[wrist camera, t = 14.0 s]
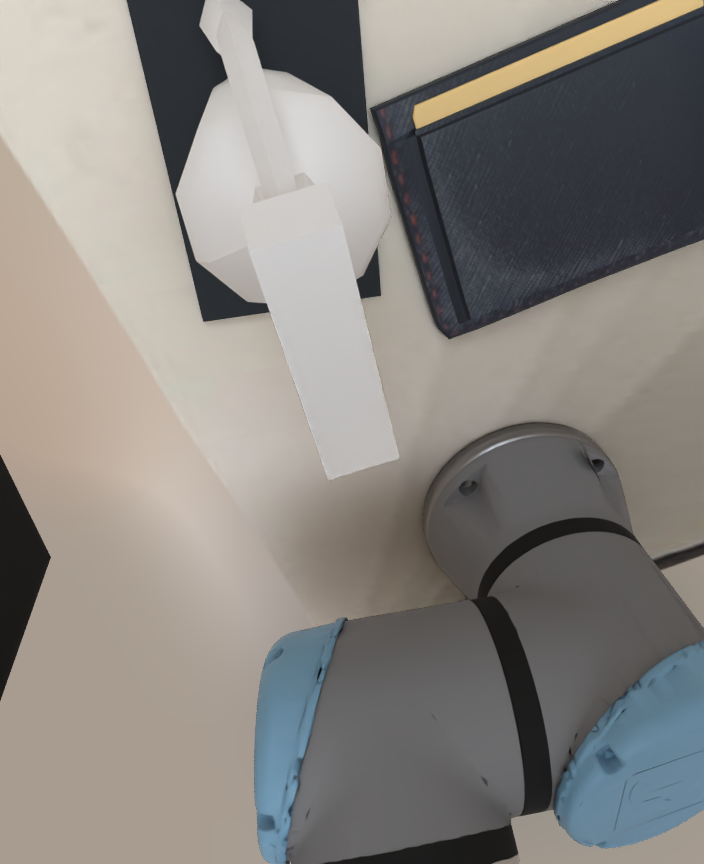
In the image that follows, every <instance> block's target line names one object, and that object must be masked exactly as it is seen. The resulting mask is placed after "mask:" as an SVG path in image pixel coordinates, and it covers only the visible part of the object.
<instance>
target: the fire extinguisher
mask: <svg viewBox="0 0 704 864" xmlns="http://www.w3.org/2000/svg"><path fill="white" fill-rule="evenodd" d="M199 26H200V28H201V29H202V31H203V32H204V34H205V35H206V37H207V38H208V40H209V41H210V43H211V44H212V46H213V47H214V48H215V50H216V51H217V53H219V54H220V55H221V57H222V60H223V63H224V66H225V70H226V73H227V76H228V79H226V80H225V81H223V82H222V83H220V84H219V85H217V86H216V87H214V88H213V90H212V92H211V95H210V97H209V100H208V103H207V105H206V108H205V110H204V113H203V116H202V118H201V121H200V124H199V126H198V129H197V132H196V135H195V138H194V141H193V144H192V147H191V150H190V153H189V156H188V159H187V162H186V164H185V167H184V170H183V173H182V176H181V179H180V182H179V185H178V188H177V191H176V198H177V201H178V204H179V207H180V211H181V214H182V217H183V220H184V224H185V227H186V230H187V233H188V237H189V240H190V243H191V246H192V250H193V253H194V256H195V259H196V261H197V262H198V263H199V264H201V265H202V266H203V267H204V268H206V269H207V270H208V271H209V272H211V273H212V274H213V275H214V276H216V277H217V278H218V279H219V280H221V281H222V282H223V283H224V284H226V285H227V286H228V287H229V288H231V289H232V290H233V291H234V292H236V293H237V294H238V295H239V296H241V297H242V298H243V299H244V300H246V301H247V302H256V303H267V306H268V308H269V311H270V314H271V317H272V320H273V323H274V326H275V329H276V332H277V334H278V337H279V340H280V343H281V346H282V349H283V352H284V355H285V358H286V360H287V363H288V366H289V369H290V372H291V375H292V378H293V381H294V384H295V386H296V389H297V392H298V395H299V398H300V401H301V404H302V407H303V410H304V412H305V415H306V418H307V421H308V424H309V427H310V430H311V433H312V436H313V438H314V441H315V444H316V447H317V450H318V453H319V456H320V459H321V462H322V464H323V467H324V470H325V473H326V476H327V479H328V480H331V479H334V478H338V477H341V476H344V475H347V474H351V473H354V472H357V471H361V470H364V469H367V468H370V467H374V466H377V465H380V464H383V463H387V462H390V461H393V460H396V459H400V457H399V453H398V449H397V445H396V441H395V437H394V432H393V428H392V424H391V420H390V416H389V412H388V408H387V404H386V400H385V396H384V392H383V388H382V384H381V380H380V376H379V371H378V367H377V363H376V359H375V355H374V351H373V347H372V343H371V339H370V335H369V331H368V327H367V323H366V319H365V315H364V311H363V306H362V302H361V298H360V294H359V290H358V286H357V282H356V279H358V278H360V277H361V276H363V275H364V273H365V271H366V268H367V266H368V264H369V262H370V260H371V258H372V256H373V254H374V252H375V250H376V248H377V246H378V243H379V241H380V239H381V237H382V235H383V233H384V231H385V229H386V227H387V225H388V223H389V221H390V218H391V212H390V205H389V198H388V191H387V184H386V178H385V171H384V164H383V157H382V150H381V148H380V147H379V146H378V145H377V144H376V143H375V142H374V141H373V140H372V138H371V137H370V136H369V135H368V134H367V133H366V132H365V131H364V130H363V129H362V128H361V127H360V126H359V125H358V124H357V123H356V122H355V121H354V120H353V119H352V118H351V116H350V115H349V114H348V113H347V112H346V111H345V110H344V109H343V108H342V107H341V106H340V105H339V104H338V103H337V102H336V101H335V100H334V99H333V98H332V97H331V96H329V95H328V94H326V93H324V92H322V91H320V90H318V89H317V88H315V87H313V86H311V85H309V84H307V83H306V82H304V81H302V80H300V79H298V78H296V77H295V76H293V75H291V74H289V73H287V72H282V71H275V70H268V69H262V67H261V63H260V60H259V57H258V54H257V50H256V47H255V44H254V41H253V36H252V9H251V8H249V7H248V6H247V5H245V4H244V3H243V2H242V1H240V0H205V4H204V8H203V12H202V16H201V20H200V25H199Z"/></svg>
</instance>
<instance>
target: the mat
mask: <svg viewBox="0 0 704 864" xmlns="http://www.w3.org/2000/svg"><path fill="white" fill-rule="evenodd" d="M240 1H242V2H243V3H244V4H245V5H247V6H248V7H249V8H251V9H252V36H253V41H254V44H255V47H256V50H257V54H258V57H259V60H260V63H261V67H262V69H268V70H275V71H282V72H287V73H289V74H291V75H293V76H295V77H296V78H298V79H300V80H302V81H304V82H306V83H307V84H309V85H311V86H313V87H315V88H317V89H318V90H320V91H322V92H324V93H326V94H328V95H329V96H331V97H332V98H333V99H334V100H335V101H336V102H337V103H338V104H339V105H340V106H341V107H342V108H343V109H344V110H345V111H346V112H347V113H348V114H349V115H350V116H351V118H352V119H353V120H354V121H355V122H356V123H357V124H358V125H359V126H360V127H361V128H362V129H363V130H364V131H365V132H366V133H367V134H368V125H367V113H366V100H365V87H364V74H363V62H362V49H361V36H360V24H359V11H358V0H240ZM127 3H128V7H129V12H130V16H131V20H132V24H133V28H134V33H135V37H136V41H137V45H138V49H139V54H140V58H141V62H142V66H143V70H144V75H145V79H146V83H147V87H148V91H149V96H150V100H151V104H152V108H153V112H154V117H155V121H156V125H157V129H158V133H159V138H160V142H161V146H162V150H163V154H164V159H165V163H166V167H167V171H168V175H169V180H170V184H171V188H172V192H173V196H174V201H175V205H176V209H177V213H178V217H179V222H180V226H181V230H182V234H183V238H184V243H185V247H186V251H187V255H188V259H189V264H190V268H191V272H192V276H193V280H194V285H195V289H196V293H197V297H198V301H199V306H200V310H201V314H202V318H203V321H204V322H205V321H212V320H219V319H225V318H232V317H239V316H246V315H253V314H259V313H266V312H270V311H269V308H268V306H267V303H256V302H247V301H246V300H244V299H243V298H242V297H241V296H239V295H238V294H237V293H236V292H234V291H233V290H232V289H231V288H229V287H228V286H227V285H226V284H224V283H223V282H222V281H221V280H219V279H218V278H217V277H216V276H214V275H213V274H212V273H211V272H209V271H208V270H207V269H206V268H204V267H203V266H202V265H201V264H199V263H198V262H197V261H196V259H195V256H194V253H193V250H192V246H191V243H190V240H189V237H188V233H187V230H186V227H185V224H184V220H183V217H182V214H181V211H180V207H179V204H178V201H177V198H176V191H177V188H178V185H179V182H180V179H181V176H182V173H183V170H184V167H185V164H186V162H187V159H188V156H189V153H190V150H191V147H192V144H193V141H194V138H195V135H196V132H197V129H198V126H199V124H200V121H201V118H202V116H203V113H204V110H205V108H206V105H207V103H208V100H209V97H210V95H211V92H212V90H213V88H214V87H216V86H217V85H219V84H220V83H222V82H223V81H225V80H226V79H228V76H227V73H226V70H225V66H224V63H223V60H222V57H221V55H220V54H219V53H217V51H216V50H215V48H214V47H213V46H212V44H211V43H210V41H209V40H208V38H207V37H206V35H205V34H204V32H203V31H202V29H201V28H200V26H199V25H200V20H201V16H202V12H203V8H204V4H205V0H127ZM356 282H357V286H358V290H359V294H360V298H361V299H362V298H368V297H375V296H381V290H380V278H379V265H378V252H377V248H376V250H375V252H374V254H373V256H372V258H371V260H370V262H369V264H368V266H367V268H366V271H365V273H364V275H363V276H361V277H360V278H358V279H356Z"/></svg>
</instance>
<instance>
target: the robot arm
mask: <svg viewBox="0 0 704 864" xmlns="http://www.w3.org/2000/svg"><path fill="white" fill-rule="evenodd" d="M423 529H424V533H425V537H426V540H427V543H428V546H429V549H430V551H431V554H432V556H433V558H434V560H435V561H436V563H437V564H438V565H439V567H440V568H441V569H442V571H443V572H444V573H445V574H446V575H447V576H448V577H449V578H450V579H451V581H452V582H453V583H454V584H455V585H456V586H457V587H458V588H459V589H460V590H461V591H462V592H463V593H464V594H465V595H466V596H467V598H468V599H469V600H464V601H459V602H453V603H447V604H441V605H435V606H429V607H424V608H418V609H412V610H406V611H400V612H394V613H388V614H382V615H376V616H371V617H365V618H359V619H353V620H348V619H347V618H339V619H337V620H336V622H335V623H332V624H328V625H323V626H319V627H314V628H310V629H305V630H301V631H296V632H292V633H289V634H287V635H285V636H283V637H282V638H280V639H279V640H278V641H277V642H276V643H275V644H274V645H273V647H272V648H271V650H270V651H269V653H268V655H267V658H266V660H265V663H264V667H263V671H262V676H261V681H260V687H259V694H258V702H257V714H256V727H255V750H254V792H255V806H256V810H257V824H258V825H257V836H258V843H259V848H260V851H261V854H262V856H263V858H264V860H265V861H267V862H268V863H272V864H289V863H290V861H291V864H519V862H520V859H519V855H518V850H517V846H516V842H515V838H514V835H513V830H512V826H511V818H513V817H517V816H523V815H528V814H533V813H538V812H543V811H548V810H554V814H555V816H556V819H557V821H558V822H559V825H560V826H561V827H562V828H563V829H565V830H566V832H567V833H568V834H569V836H570V837H571V838H572V839H573V840H574V841H576V842H578V843H579V844H582V845H585V846H589V847H591V846H593V845H596V846H599V847H600V848H616V847H621V846H625V845H631V844H634V843H638V842H640V841H644V840H647V839H649V838H652V837H654V836H657V835H659V834H662V833H664V832H666V831H668V830H670V829H672V828H674V827H676V826H678V825H680V824H681V823H683V822H685V821H687V820H688V819H690V818H691V817H693V816H695V815H696V814H698V813H699V812H701V811H702V810H703V809H704V628H703V627H702V626H701V624H700V623H699V621H698V620H697V619H696V618H695V616H694V615H693V614H692V613H691V611H690V610H689V608H688V607H687V606H686V604H685V603H684V602H683V600H682V599H681V598H680V596H679V595H678V594H677V592H676V591H675V590H674V588H673V587H672V586H671V584H670V583H669V582H668V580H667V579H666V578H665V576H664V575H663V574H662V572H661V571H660V570H659V568H658V567H657V566H656V564H655V563H654V562H653V560H652V559H651V558H650V556H649V555H648V554H647V552H646V551H645V550H644V549H643V547H642V546H641V544H640V543H639V542H638V540H637V539H636V538H635V536H634V535H633V531H632V527H631V523H630V519H629V514H628V510H627V506H626V502H625V497H624V493H623V489H622V485H621V481H620V479H619V476H618V473H617V471H616V469H615V467H614V465H613V464H612V462H611V461H610V459H609V458H608V457H607V456H606V454H605V453H604V452H603V451H602V449H601V448H600V447H599V446H598V445H597V444H596V443H595V442H594V441H593V440H592V439H591V438H589V437H588V436H586V435H585V434H583V433H581V432H579V431H577V430H575V429H572V428H569V427H566V426H562V425H557V424H548V423H531V424H523V425H518V426H513V427H509V428H505V429H502V430H499V431H496V432H494V433H491V434H489V435H487V436H485V437H483V438H481V439H479V440H477V441H475V442H474V443H472V444H471V445H469V446H468V447H466V448H465V449H463V450H462V451H461V452H460V453H458V454H457V455H456V456H455V457H454V458H453V459H452V460H450V461H449V462H448V464H447V465H446V466H445V467H444V468H443V469H442V470H441V472H440V473H439V474H438V476H437V477H436V479H435V480H434V482H433V484H432V486H431V488H430V490H429V492H428V494H427V497H426V500H425V504H424V508H423ZM50 558H51V557H50V555H49V553H48V551H47V549H46V547H45V545H44V543H43V541H42V539H41V537H40V534H39V532H38V530H37V528H36V526H35V524H34V522H33V520H32V518H31V516H30V514H29V512H28V510H27V508H26V506H25V504H24V502H23V500H22V498H21V496H20V494H19V492H18V490H17V488H16V486H15V484H14V482H13V480H12V478H11V476H10V474H9V471H8V469H7V467H6V465H5V463H4V461H3V459H2V457H1V455H0V700H1V697H2V694H3V691H4V689H5V686H6V683H7V680H8V677H9V675H10V672H11V669H12V666H13V663H14V660H15V657H16V655H17V652H18V649H19V646H20V643H21V640H22V637H23V635H24V632H25V629H26V626H27V623H28V620H29V618H30V615H31V612H32V609H33V606H34V603H35V600H36V598H37V595H38V592H39V589H40V586H41V583H42V580H43V578H44V575H45V572H46V569H47V567H48V564H49V561H50Z"/></svg>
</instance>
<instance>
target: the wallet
mask: <svg viewBox="0 0 704 864" xmlns="http://www.w3.org/2000/svg"><path fill="white" fill-rule="evenodd" d="M370 109H371V112H372V115H373V118H374V121H375V124H376V127H377V131H378V134H379V137H380V141H381V145H382V150H383V154H384V159H385V163H386V167H387V171H388V175H389V178H390V181H391V185H392V188H393V191H394V194H395V198H396V201H397V204H398V208H399V211H400V214H401V218H402V221H403V224H404V227H405V231H406V234H407V237H408V241H409V244H410V247H411V250H412V254H413V257H414V260H415V263H416V267H417V270H418V273H419V276H420V280H421V283H422V286H423V289H424V293H425V296H426V299H427V302H428V305H429V308H430V310H431V313H432V316H433V319H434V322H435V324H436V326H437V328H438V329H439V330H440V331H441V332H442V333H443V334H444V335H445V336H446V337H447V338H448V339H451V338H454V337H457V336H459V335H462V334H465V333H468V332H471V331H473V330H476V329H479V328H481V327H484V326H486V325H489V324H491V323H494V322H496V321H499V320H501V319H504V318H506V317H509V316H511V315H514V314H516V313H518V312H521V311H523V310H526V309H528V308H530V307H533V306H535V305H538V304H540V303H542V302H545V301H547V300H550V299H552V298H554V297H557V296H559V295H562V294H564V293H566V292H569V291H571V290H574V289H576V288H578V287H581V286H583V285H586V284H588V283H591V282H593V281H596V280H598V279H601V278H604V277H606V276H609V275H611V274H614V273H617V272H619V271H622V270H624V269H627V268H630V267H632V266H635V265H637V264H640V263H642V262H645V261H648V260H650V259H653V258H655V257H658V256H661V255H663V254H666V253H668V252H671V251H674V250H677V249H679V248H682V247H685V246H687V245H690V244H693V243H696V242H698V241H701V240H704V0H619V1H616V2H614V3H612V4H610V5H607V6H605V7H603V8H600V9H598V10H596V11H593V12H591V13H589V14H587V15H584V16H582V17H580V18H577V19H575V20H573V21H570V22H568V23H566V24H564V25H561V26H559V27H557V28H554V29H552V30H550V31H547V32H545V33H543V34H541V35H538V36H536V37H534V38H531V39H529V40H527V41H524V42H522V43H520V44H518V45H515V46H513V47H511V48H508V49H506V50H504V51H501V52H499V53H497V54H495V55H492V56H490V57H488V58H485V59H483V60H481V61H478V62H476V63H474V64H472V65H469V66H467V67H465V68H462V69H460V70H458V71H455V72H453V73H451V74H449V75H446V76H444V77H442V78H439V79H437V80H435V81H432V82H430V83H428V84H425V85H423V86H421V87H419V88H416V89H414V90H412V91H409V92H407V93H405V94H402V95H400V96H398V97H395V98H393V99H391V100H389V101H386V102H384V103H382V104H379V105H377V106H375V107H372V108H370Z"/></svg>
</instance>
